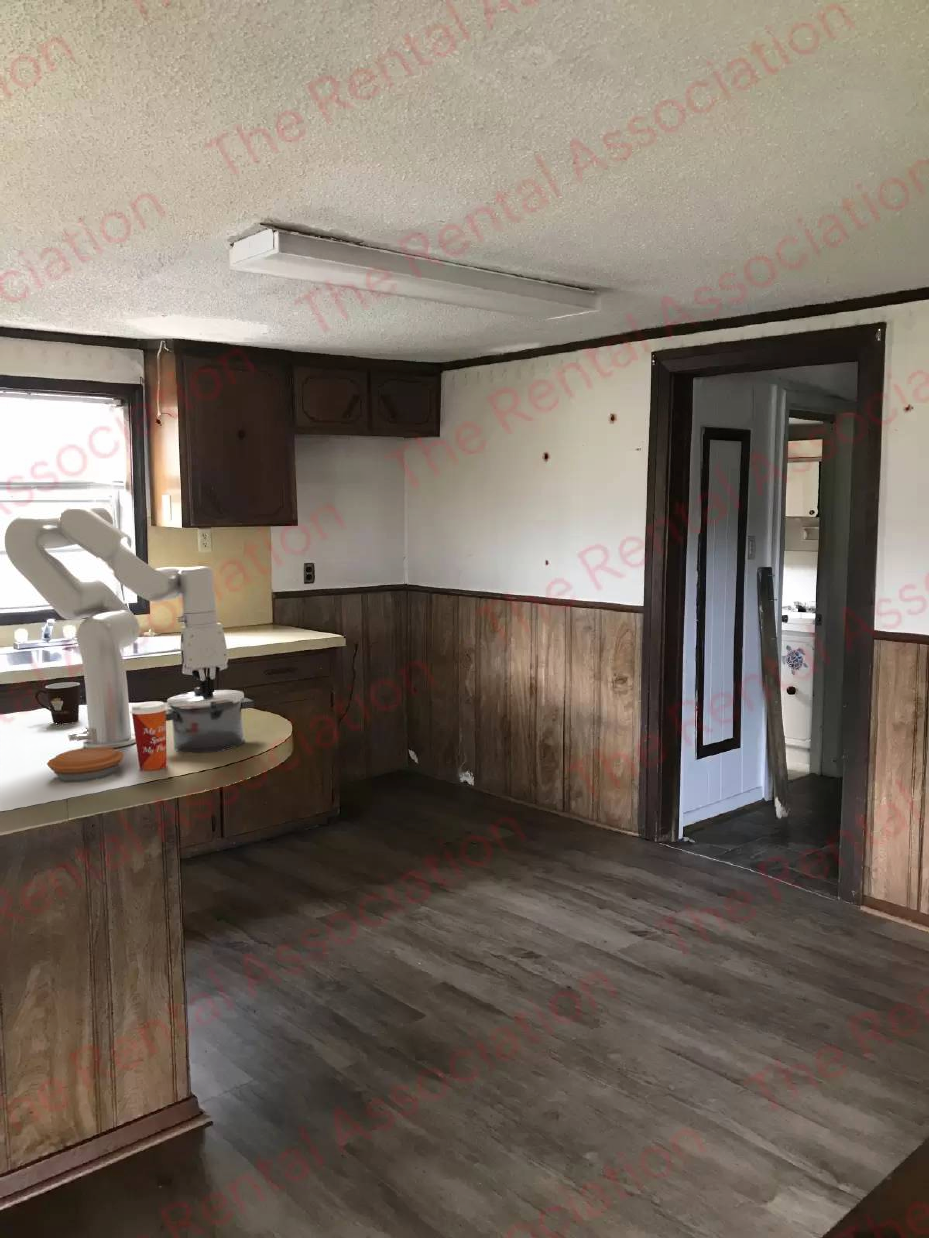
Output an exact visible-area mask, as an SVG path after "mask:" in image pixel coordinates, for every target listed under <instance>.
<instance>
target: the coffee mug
mask: <svg viewBox="0 0 929 1238" xmlns="http://www.w3.org/2000/svg"><path fill="white" fill-rule="evenodd" d="M80 687H81V683H80V682H74V681H71V682H58V683H52V684H49V685H46V686H45V689H40V690H38V691H36V693H35V696H34V697H35V700H36V702H37V703H38V704H39V705H40V706H41V707H42V708H44V709H45V710H48V711H49V712H50V713H51V714H50V715H51V720H52V723H53V722H54V723H57V724H56V725H66V724H65V723H69V724H73V723H72V722H74V723H76V722H79V719H80V716H79V713H80V689H81V688H80ZM40 693H45V694H46V695H47V699H48V705H49V707H48V706H47V705H45V704H44V703H43V702H42V701H41V700H40V699H39V694H40ZM54 723H53V724H54Z"/></svg>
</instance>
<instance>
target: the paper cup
mask: <svg viewBox="0 0 929 1238" xmlns="http://www.w3.org/2000/svg"><path fill="white" fill-rule="evenodd" d="M167 707H168V706H166V704H165V702H163V701H157V700H154V701H144V702H142V701H141V702H138V703H135V704H132V705H131V710H129V714H131V716H132V722H133V723H132V724H133V730H134V734H135V739H136V742H135V744H136V751H137V759H138V765H139V770H141V771H144V772H145V771H146V772H147V770H149V771H156V770H162V769H164V768H166V767H167V721H166V710H168V708H167ZM149 771H148V772H149Z"/></svg>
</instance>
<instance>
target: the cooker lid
mask: <svg viewBox="0 0 929 1238" xmlns="http://www.w3.org/2000/svg"><path fill="white" fill-rule="evenodd" d="M193 689H194V690H193V691H190V692H182V693H180V694H178V695H174V696H171V697H169V698H167V700H166V704H167V705H166V707H168V708H170V709H171V708H179V709H195V708H208V707H212V708H215V709H220V708H227V707H233V703H236V702H239V701H242V700H243V699H244V698H245V693H244V692H243V691H241V690H235V689H233V690H232V689H217V690H215V689H214V692H213V696H211V697H210V696H209V697H204V696H202V694H201V693H200V688H199V686H198V687H194V688H193Z"/></svg>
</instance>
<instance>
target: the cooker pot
mask: <svg viewBox="0 0 929 1238" xmlns="http://www.w3.org/2000/svg"><path fill="white" fill-rule="evenodd" d="M254 707H255V706H254V700H252V699H250V698H247V697H244V699H243V700H242V701H239V702H236V703H233V707H227V708H220V709H215V708H212V707H208V708H195V709H179V708H171V707H170V708H169V709H168V708H167V710H166V722H169V721H171V722H172V737H173V747H174V750H175V749H177V750H178V752H181V751H182V752H183V753H189V752H190V753H193V754H194V753H211V752H219V751H218V750H220V751H223V750H222V749H226V750H229V749H228V748H230V749H232V748H231V747H233V746H236V747H238V745H239V746H241V745H242V744H243V743H244V729H243V715H242V710H245V709H251V708H254ZM241 743H242V744H241ZM240 744H241V745H240ZM233 748H234V747H233ZM177 750H176V751H177ZM190 753H189V754H190Z"/></svg>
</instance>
